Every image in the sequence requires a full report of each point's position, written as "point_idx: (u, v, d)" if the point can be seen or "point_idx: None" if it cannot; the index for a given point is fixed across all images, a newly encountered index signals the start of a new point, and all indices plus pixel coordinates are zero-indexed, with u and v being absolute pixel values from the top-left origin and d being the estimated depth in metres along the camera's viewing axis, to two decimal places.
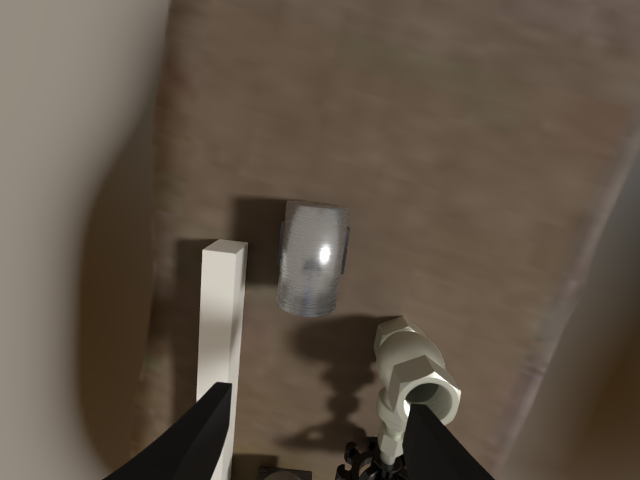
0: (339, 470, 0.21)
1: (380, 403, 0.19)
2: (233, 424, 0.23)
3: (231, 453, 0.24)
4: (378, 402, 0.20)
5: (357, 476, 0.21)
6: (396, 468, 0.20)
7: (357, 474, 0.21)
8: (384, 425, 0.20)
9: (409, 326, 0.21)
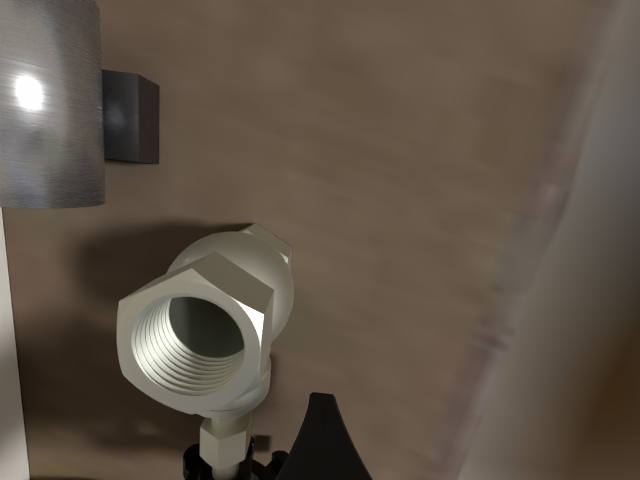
0: None
1: None
2: (15, 431, 0.15)
3: (22, 476, 0.15)
4: None
5: None
6: None
7: None
8: None
9: (250, 231, 0.11)
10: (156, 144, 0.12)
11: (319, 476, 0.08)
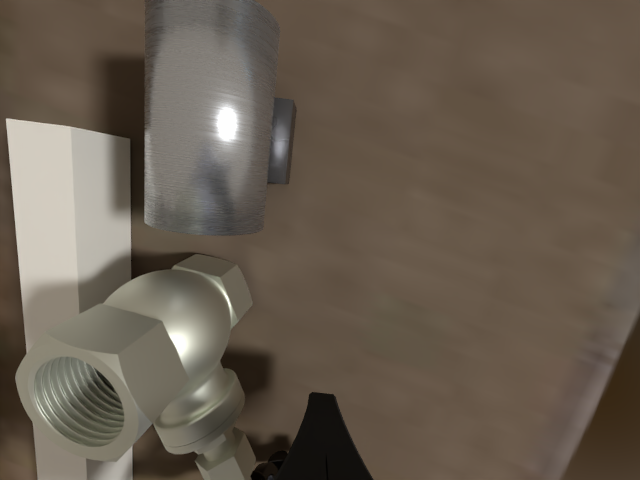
0: None
1: None
2: None
3: None
4: None
5: None
6: None
7: None
8: None
9: (180, 265, 0.12)
10: (290, 165, 0.12)
11: (318, 476, 0.08)
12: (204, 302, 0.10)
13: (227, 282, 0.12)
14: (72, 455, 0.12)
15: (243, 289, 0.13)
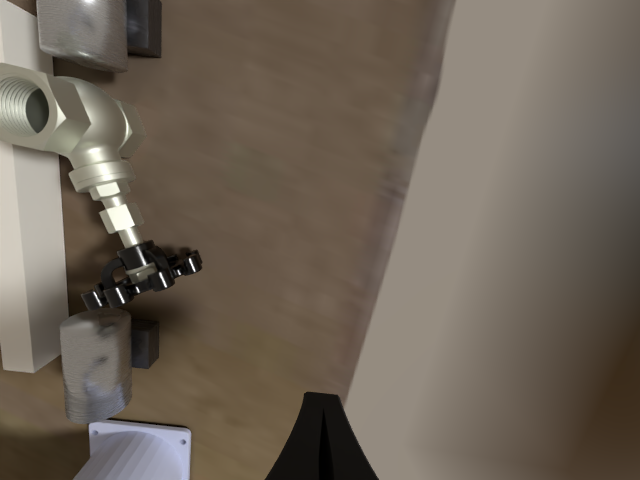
0: (99, 283, 0.18)
1: None
2: (59, 257, 0.21)
3: (63, 295, 0.22)
4: None
5: (120, 281, 0.18)
6: (134, 245, 0.17)
7: (122, 280, 0.18)
8: None
9: None
10: (159, 42, 0.18)
11: (310, 475, 0.08)
12: (104, 95, 0.16)
13: (125, 107, 0.18)
14: (12, 236, 0.18)
15: (139, 122, 0.19)
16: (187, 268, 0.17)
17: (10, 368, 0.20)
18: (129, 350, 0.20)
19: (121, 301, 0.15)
